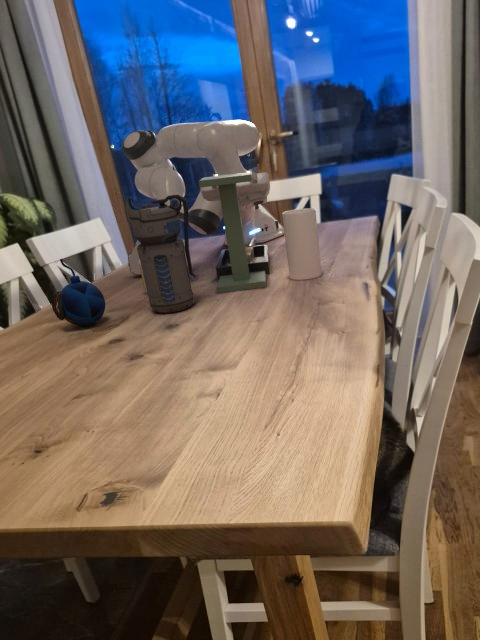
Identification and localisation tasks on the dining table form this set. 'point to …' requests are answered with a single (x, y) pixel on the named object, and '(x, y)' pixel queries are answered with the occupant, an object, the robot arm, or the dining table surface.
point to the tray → (259, 264)
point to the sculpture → (134, 260)
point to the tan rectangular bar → (250, 250)
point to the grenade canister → (163, 252)
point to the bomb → (78, 302)
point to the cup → (302, 243)
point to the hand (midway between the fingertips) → (232, 173)
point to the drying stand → (234, 234)
